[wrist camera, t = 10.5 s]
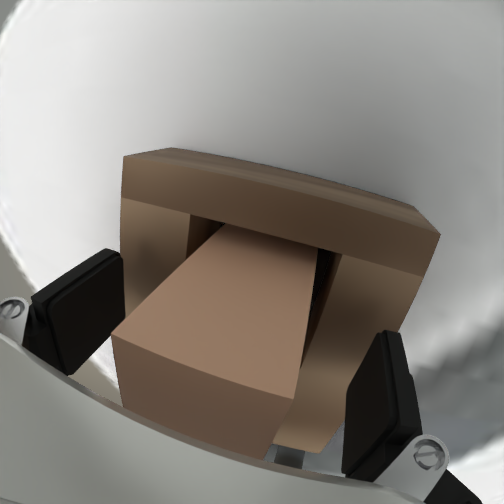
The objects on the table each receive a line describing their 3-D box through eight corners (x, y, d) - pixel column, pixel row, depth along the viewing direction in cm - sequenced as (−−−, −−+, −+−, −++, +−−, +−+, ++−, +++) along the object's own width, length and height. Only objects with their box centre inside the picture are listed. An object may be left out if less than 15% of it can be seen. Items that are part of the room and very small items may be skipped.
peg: (239, 210, 15) (110, 333, 6) (320, 232, 14) (294, 399, 5) (227, 281, 17) (127, 427, 8) (299, 302, 16) (254, 475, 7)
